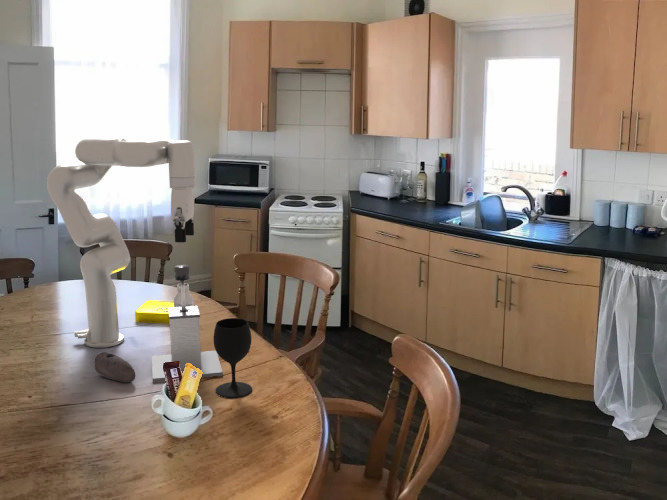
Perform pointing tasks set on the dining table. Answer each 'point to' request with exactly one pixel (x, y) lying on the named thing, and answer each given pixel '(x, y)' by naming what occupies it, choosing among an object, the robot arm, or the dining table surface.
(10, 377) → the dining table surface
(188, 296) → the plastic bottle
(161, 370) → the grey board
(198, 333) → the grey block
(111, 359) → the perforated stone tool
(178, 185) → the robot arm
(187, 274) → the dark grey cylinder
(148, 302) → the element tile
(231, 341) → the wine glass
